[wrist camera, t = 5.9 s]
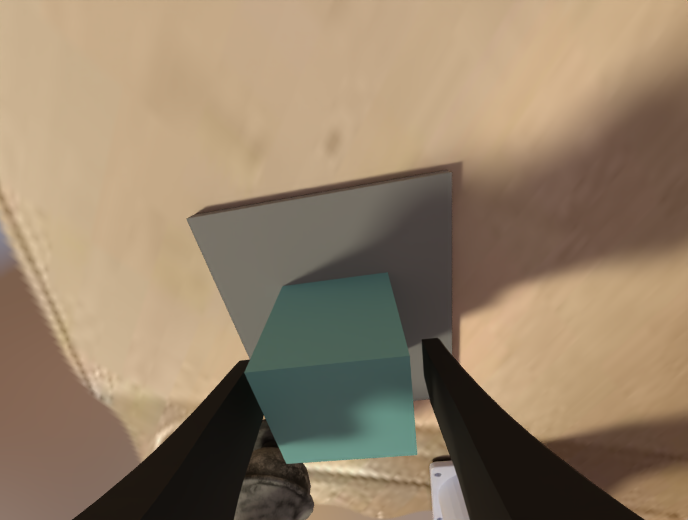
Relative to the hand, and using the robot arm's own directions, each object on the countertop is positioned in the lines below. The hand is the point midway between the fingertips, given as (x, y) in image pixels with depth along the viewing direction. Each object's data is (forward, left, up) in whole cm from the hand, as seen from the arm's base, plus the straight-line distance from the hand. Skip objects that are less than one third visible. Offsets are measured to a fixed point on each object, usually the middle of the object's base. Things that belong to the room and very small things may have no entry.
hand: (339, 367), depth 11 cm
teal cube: (0, 0, -3) cm, 3 cm away
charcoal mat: (0, 0, -3) cm, 3 cm away
